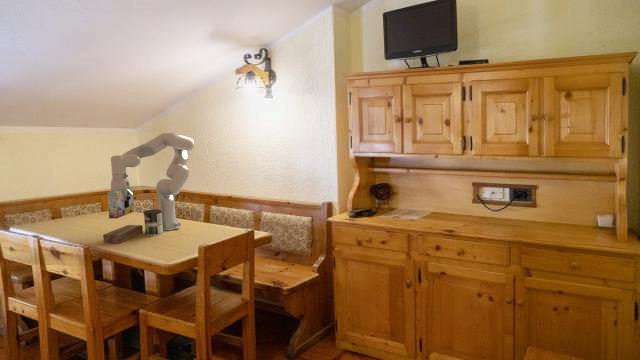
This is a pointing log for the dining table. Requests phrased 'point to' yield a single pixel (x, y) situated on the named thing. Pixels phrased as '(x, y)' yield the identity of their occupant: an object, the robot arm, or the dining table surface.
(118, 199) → the snack box
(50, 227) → the dining table surface
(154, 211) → the coffee can
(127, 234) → the walnut block
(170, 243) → the dining table surface
